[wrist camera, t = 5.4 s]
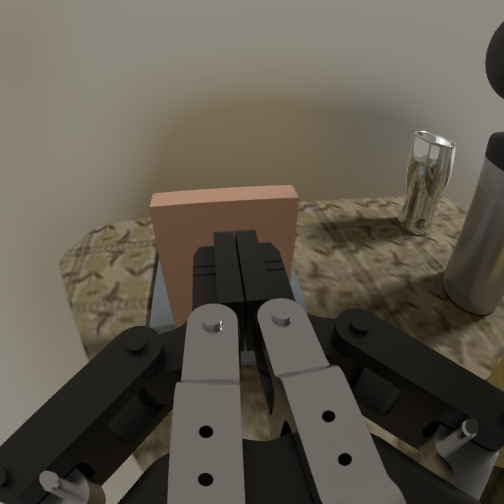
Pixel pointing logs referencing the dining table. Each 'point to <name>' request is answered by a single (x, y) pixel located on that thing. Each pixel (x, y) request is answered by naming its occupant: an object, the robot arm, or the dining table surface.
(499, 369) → the cheese
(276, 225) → the tile
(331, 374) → the robot arm
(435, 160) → the beer glass
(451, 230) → the dining table surface
